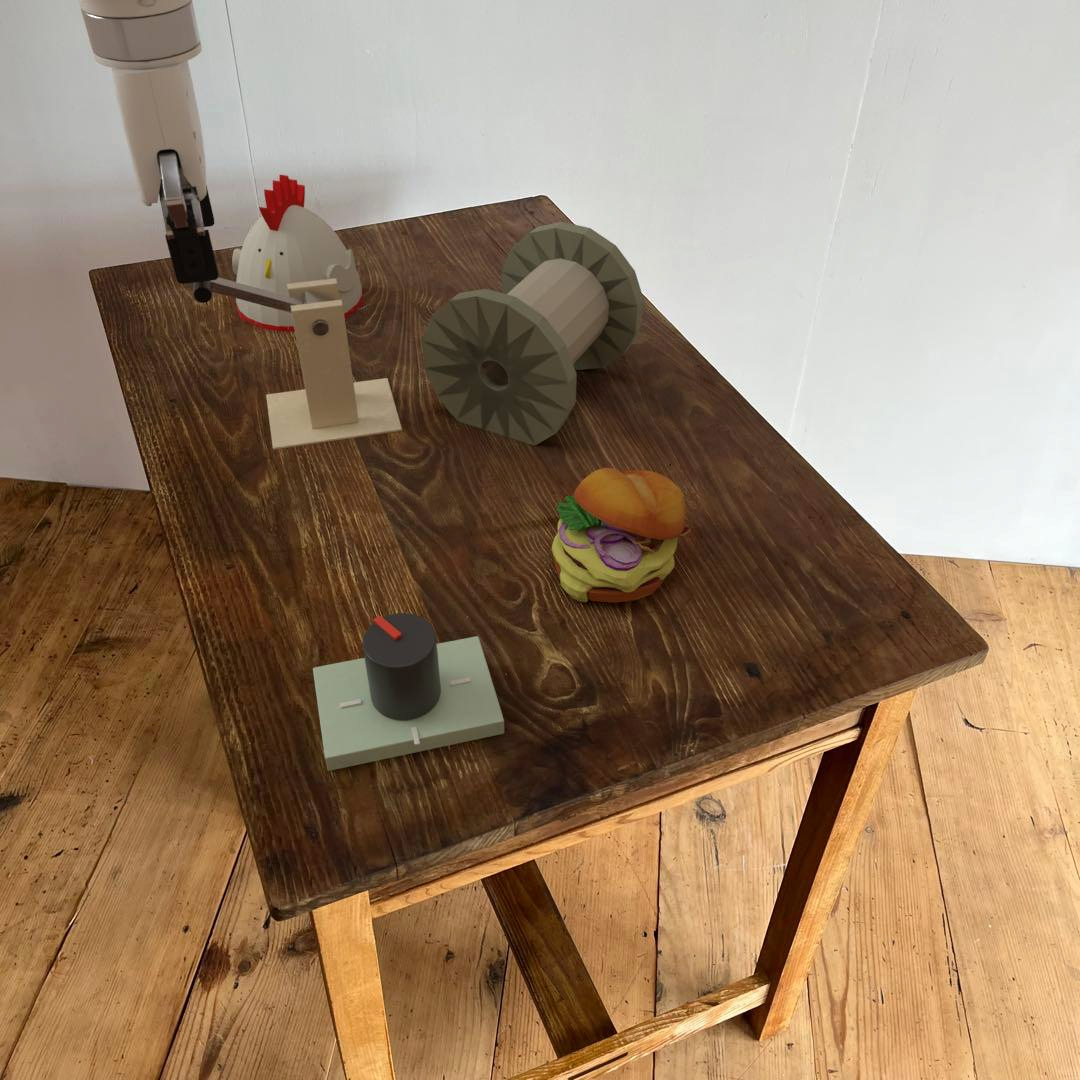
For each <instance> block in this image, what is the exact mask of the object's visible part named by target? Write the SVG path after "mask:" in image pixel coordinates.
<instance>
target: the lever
mask: <svg viewBox="0 0 1080 1080" xmlns="http://www.w3.org/2000/svg"><path fill="white" fill-rule="evenodd" d="M192 285H193V286H192V287H193V288H192V289H193V298H194V299H195V300H196V301H197V302H199V303H203V304H204V303H208V302H209V301H211V299H212V296H213V293H215V294H218V295H222V296H226V297H230V298H233V299H236V298H237V299H241V300H245V301H248V302H252V303H256V304H260V305H263V306H267V307H271V308H274V309H278V310H282V311H286V312H289V313H292V312H291V306H293V305H301V304H309V303H317V302H325V301H334V300H335V299H332V298H329V297H325V296H322V295H318V294H315V293H311V292H307V291H304V294H303V297H302V300H299V299H295V298H292V297H288V296H284V295H281V294H277V293H273V292H270V291H266V290H262V289H259V288H255V287H252V286H248V285H244V284H241V283H237V282H236V281H234V280H231V279H225V278H222V277H220V276H218V278H217V279H216V280H211V281H203V282H195V283H192Z"/></svg>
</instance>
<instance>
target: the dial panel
mask: <svg viewBox="0 0 1080 1080" xmlns="http://www.w3.org/2000/svg"><path fill="white" fill-rule="evenodd" d="M437 651H438V662H439V673H440V685H441V694H440V698H439V700H438V702H437V704H436V705H435V706H434V708H433V709H432V710H430V711H429V712H428V713H426V714H425V715H423V716H421V717H418V718H415V719H411V720H395V719H391V718H388V717H386V716H384V715H382V714H381V713H380V712H378V711H377V709H376V708H375V707H374V705H373V703H372V700H371V695H370V689H369V682H368V676H367V670H366V664H365V658H364V657H362V658H357V659H352V660H345V661H341V662H335V663H331V664H330V663H329V664H326V665H320V666H315V667H313V668H312V673H313V681H314V688H315V695H316V702H317V710H318V717H319V726H320V731H321V740H322V747H323V755H324V761H325V765H326V770H327V771H329V772H331V771H335V770H338V769H344V768H348V767H349V768H350V767H353V766H357V765H358V766H359V765H364V764H367V763H373V762H377V761H382V760H386V759H391V758H396V757H401V756H406V755H409V754H415V753H419V752H424V751H428V750H429V751H430V750H434V749H439V748H442V747H448V746H452V745H457V744H462V743H466V742H471V741H472V742H473V741H476V740H480V739H485V738H489V737H495V736H499V735H503V734H505V719H504V716H503V711H502V709H501V706H500V702H499V700H498V696H497V692H496V689H495V686H494V683H493V679H492V676H491V672H490V669H489V666H488V663H487V659H486V657H485V656H486V655H485V653H484V649H483V646H482V642H481V639H480V637H479V636H478V635H476V636H471V637H466V638H461V639H456V640H449V641H445V642H440V643H437Z"/></svg>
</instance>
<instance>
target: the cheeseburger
mask: <svg viewBox="0 0 1080 1080" xmlns="http://www.w3.org/2000/svg"><path fill="white" fill-rule="evenodd" d="M564 500H565V501H566V502H564V501H563V502H562V501H558V503H557V504H558V505H557V508H556V511H557V513H559V516H558V518H559V520H558V522H557V533H556V534H555V536H554V537H553V542H552V545H551V550H552V554H553V563H554V566H555V569H556V573H557V576H558V579H559V580H560V581H559V582H560V587H561V588H562V589H563V590H564V591H565V592H566V594H568V595H569V596H570V597H571V599H574V600H575V601H577V602H579V603H587V602H588V600H590V601H592V602H602V603H621V602H623V603H624V602H630V601H631V602H632V601H638V600H640V599H643V598H645V597H648V596H651V595H653V594H654V592H656V590H657V589H658V588H659V587H660V586H661V585H662V584H663V582H664V580H665V579H666V577H667V576H668V575H669V574H671V572H672V571H673V569H674V568H675V557H674V555H675V552H676V550H677V547H678V538H679V537H681V536H686V535H687V534H689V532H691V526H690V525H688V524H685V523H686V516H687V509H686V504H685V499H684V495H683V491H682V490H681V489H680V487H678V486H677V484H675V483H674V482H673V481H672V479H670V478H668V477H667V476H664V475H663V474H661V473H658V472H655V471H651V470H642V469H641V470H640V469H625V470H618V469H616V468H612V467H602V468H600V469H596V470H593V471H592V472H591V473H590V474H588V475H587V476H586V477H585V478H583V479H582V481H581V482H580V483H579V484H578V485H577V487H576V488H575V490H574V493H573V495H566V496H565V497H564Z"/></svg>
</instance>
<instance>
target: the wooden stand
mask: <svg viewBox="0 0 1080 1080" xmlns="http://www.w3.org/2000/svg"><path fill="white" fill-rule="evenodd" d="M287 289H288V294H289V297H292V298H295V299H299V300H302V297H303V294H304V291H307V292H311V293H315V294H318V295H322V296H325V297H329V298H332V299H335V300H334V301H325V302H317V303H309V304H301V305H293V306H291V312H292V317H293V323H294V329H295V331H294V335H295V339H296V345H297V351H298V357H299V363H300V368H301V373H302V374H301V375H302V379H303V380H302V381H303V385H304V388H303V389H297V390H289V391H283V392H275V393H267V394H266V395H265V396H266V397H265V398H266V404H267V413H268V420H269V421H268V422H269V429H270V439H271V446H272V450H273V451H274V450H275V451H276V450H282V449H289V448H295V447H303V446H310V445H315V444H323V443H328V442H336V441H343V440H349V439H357V438H363V437H370V436H376V435H382V434H389V433H390V434H391V433H397V432H402V431H403V428H402V427H403V426H402V424H401V421H400V417H399V413H398V411H397V407H396V403H395V399H394V396H393V392H392V389H391V385H390V382H389V378H388V377H385V378H384V377H383V378H378V379H370V380H369V379H368V380H362V381H355V382H354V376H353V369H352V361H351V354H350V348H349V340H348V332H347V325H346V318H345V317H344V310H343V304H342V300H340V298H339V291H338V284H337V280H336V278H333V279H325V280H316V281H308V282H299V283H291V284H287Z"/></svg>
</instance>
